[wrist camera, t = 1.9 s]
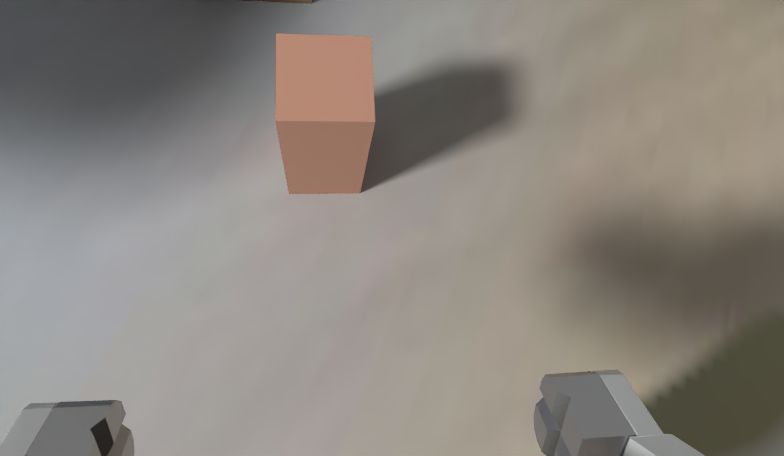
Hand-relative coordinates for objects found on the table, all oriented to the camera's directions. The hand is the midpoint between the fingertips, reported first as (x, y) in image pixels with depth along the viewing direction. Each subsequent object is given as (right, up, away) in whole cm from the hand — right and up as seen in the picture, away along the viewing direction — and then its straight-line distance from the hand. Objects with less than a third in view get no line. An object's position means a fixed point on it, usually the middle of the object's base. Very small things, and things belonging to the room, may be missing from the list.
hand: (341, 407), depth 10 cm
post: (-3, +7, +20) cm, 22 cm away
